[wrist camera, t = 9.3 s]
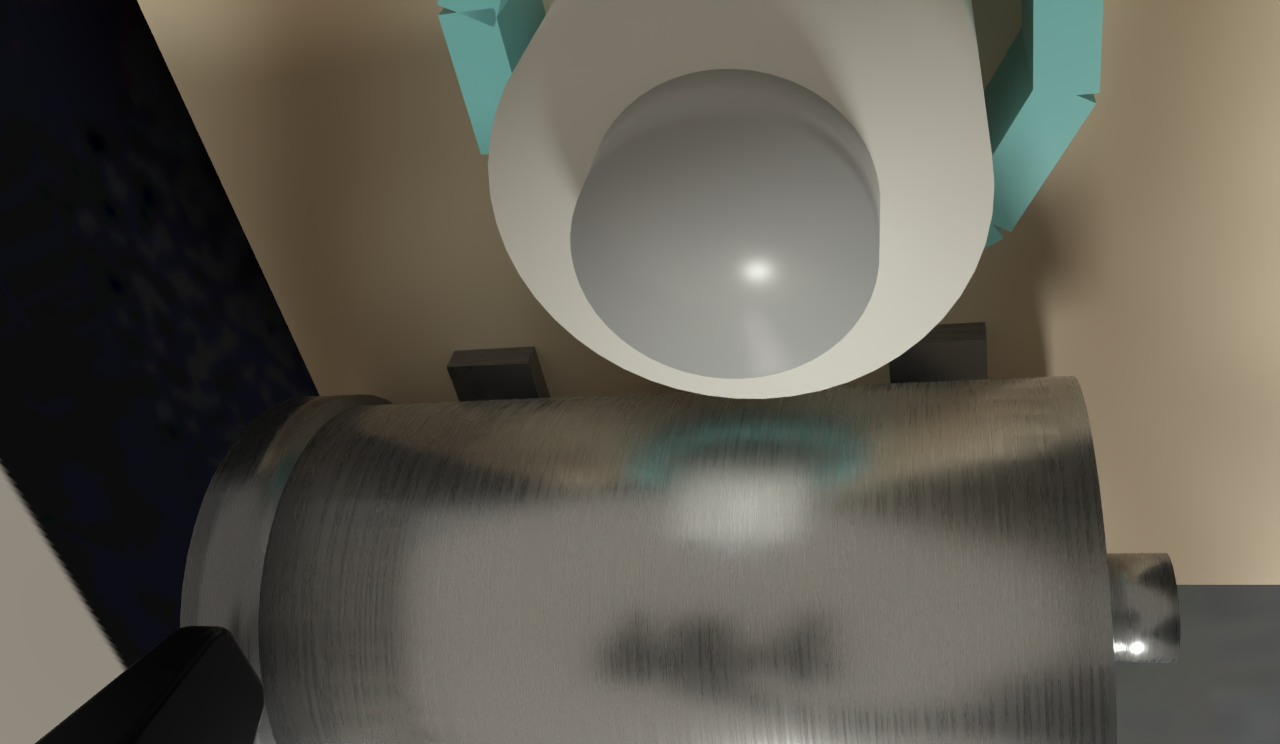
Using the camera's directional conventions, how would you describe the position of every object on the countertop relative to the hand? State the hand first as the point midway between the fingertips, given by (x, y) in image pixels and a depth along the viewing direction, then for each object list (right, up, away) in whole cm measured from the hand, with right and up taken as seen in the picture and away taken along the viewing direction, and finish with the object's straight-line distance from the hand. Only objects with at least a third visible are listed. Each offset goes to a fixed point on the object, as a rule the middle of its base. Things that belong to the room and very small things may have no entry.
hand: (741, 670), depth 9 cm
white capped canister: (+1, +8, +7) cm, 11 cm away
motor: (+1, +2, +14) cm, 14 cm away
